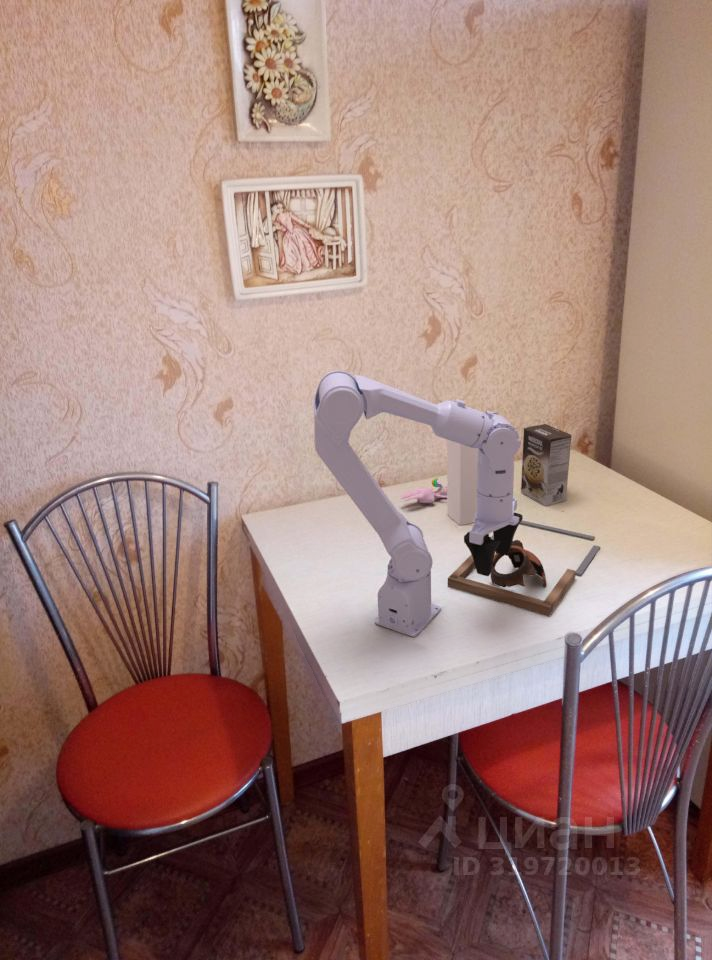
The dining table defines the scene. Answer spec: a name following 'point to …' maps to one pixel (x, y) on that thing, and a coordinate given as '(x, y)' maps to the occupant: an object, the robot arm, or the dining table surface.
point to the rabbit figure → (427, 493)
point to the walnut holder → (509, 597)
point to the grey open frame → (566, 532)
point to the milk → (461, 482)
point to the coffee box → (545, 464)
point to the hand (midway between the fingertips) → (493, 563)
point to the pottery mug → (523, 562)
